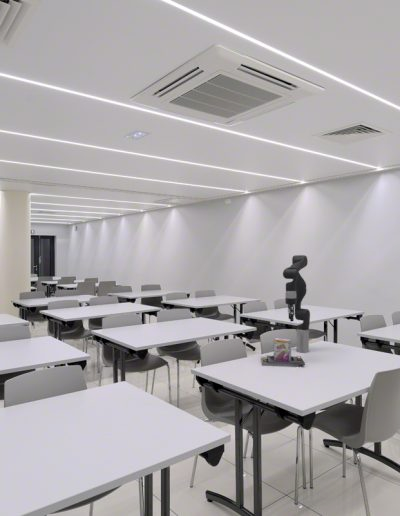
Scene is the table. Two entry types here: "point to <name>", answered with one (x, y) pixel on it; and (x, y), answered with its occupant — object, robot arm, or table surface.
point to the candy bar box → (282, 350)
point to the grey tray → (293, 363)
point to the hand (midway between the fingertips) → (291, 320)
